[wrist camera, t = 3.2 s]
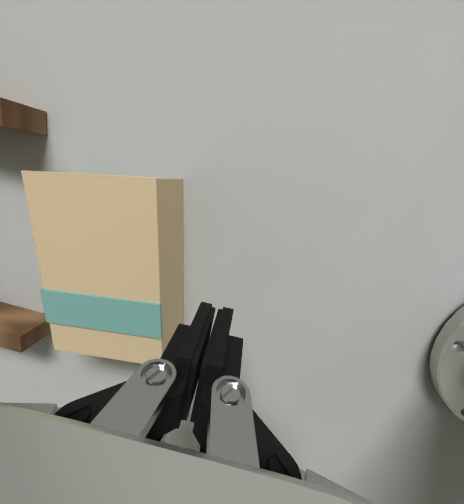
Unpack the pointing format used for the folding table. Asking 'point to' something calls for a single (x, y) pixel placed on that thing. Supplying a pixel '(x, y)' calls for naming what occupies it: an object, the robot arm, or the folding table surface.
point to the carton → (108, 261)
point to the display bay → (3, 315)
